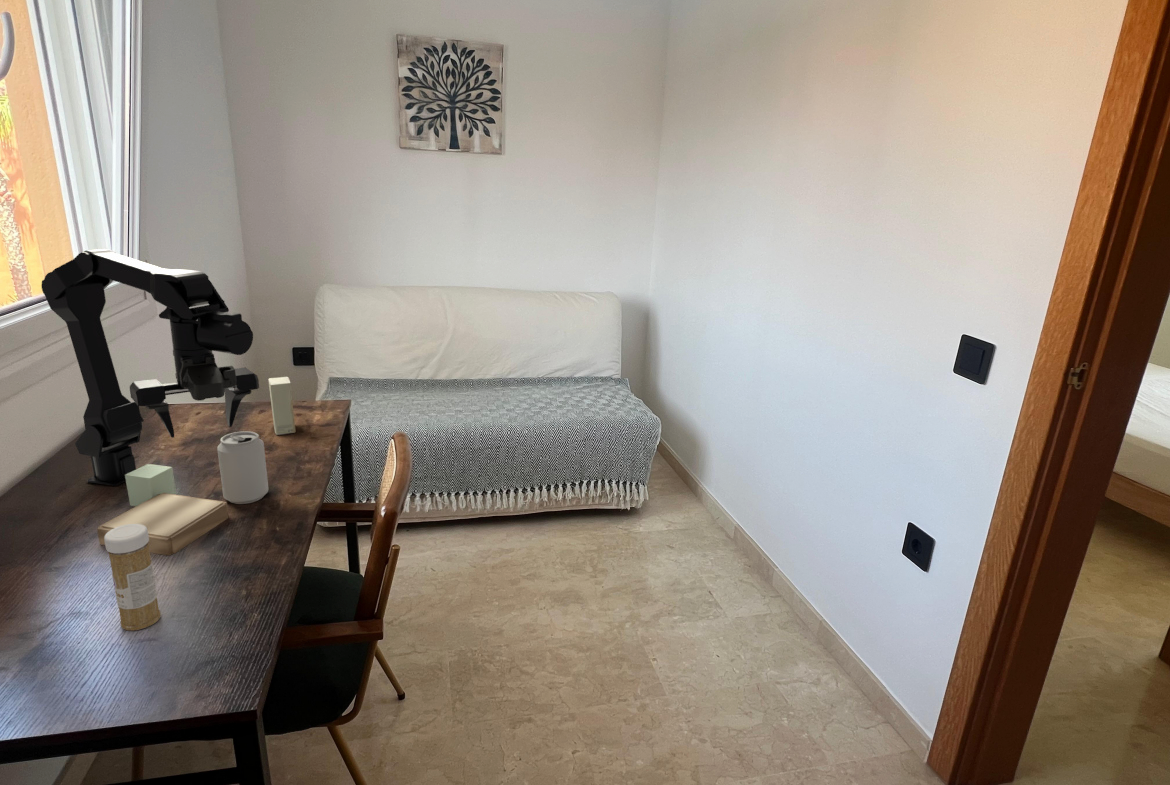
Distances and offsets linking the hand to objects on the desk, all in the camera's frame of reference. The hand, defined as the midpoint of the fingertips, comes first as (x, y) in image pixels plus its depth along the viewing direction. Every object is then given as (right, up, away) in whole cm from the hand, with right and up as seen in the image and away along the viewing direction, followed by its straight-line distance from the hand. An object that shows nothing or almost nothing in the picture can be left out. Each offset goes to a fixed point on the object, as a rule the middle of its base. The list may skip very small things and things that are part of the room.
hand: (201, 431), depth 117 cm
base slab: (-1, -16, -8) cm, 18 cm away
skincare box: (-2, -2, +37) cm, 38 cm away
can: (+5, -13, +5) cm, 15 cm away
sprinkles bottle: (+9, -24, -30) cm, 39 cm away
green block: (-10, -13, +2) cm, 16 cm away
